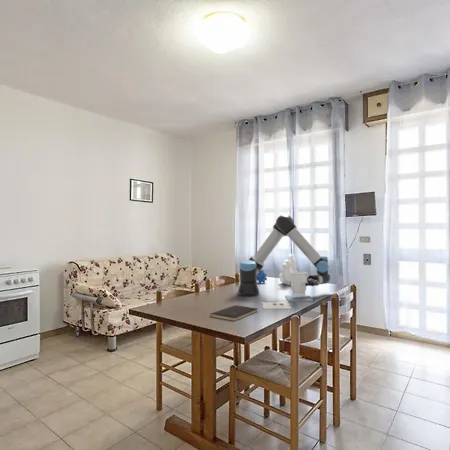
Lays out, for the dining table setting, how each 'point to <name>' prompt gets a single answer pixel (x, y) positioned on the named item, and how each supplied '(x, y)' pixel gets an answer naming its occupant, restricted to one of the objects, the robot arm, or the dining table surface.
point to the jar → (298, 283)
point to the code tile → (275, 305)
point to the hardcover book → (234, 312)
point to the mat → (299, 298)
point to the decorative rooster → (287, 269)
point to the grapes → (261, 277)
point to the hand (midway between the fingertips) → (294, 284)
